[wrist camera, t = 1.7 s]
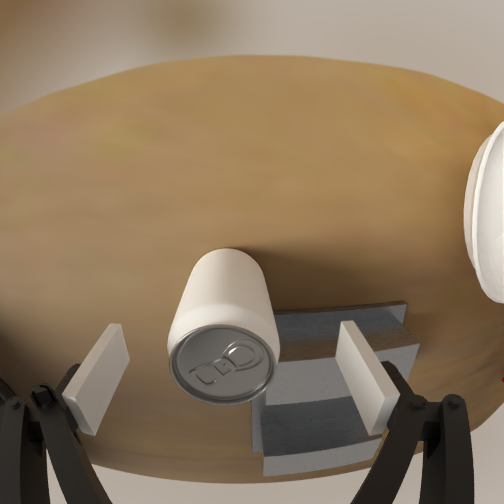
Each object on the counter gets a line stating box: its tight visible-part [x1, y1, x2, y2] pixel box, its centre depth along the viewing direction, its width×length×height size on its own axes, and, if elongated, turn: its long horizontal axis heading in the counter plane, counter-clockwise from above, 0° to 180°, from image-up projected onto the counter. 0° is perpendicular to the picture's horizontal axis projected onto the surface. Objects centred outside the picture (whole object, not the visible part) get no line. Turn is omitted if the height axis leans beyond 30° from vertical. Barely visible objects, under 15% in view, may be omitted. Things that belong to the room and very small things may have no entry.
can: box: [167, 248, 280, 406], centre depth 20 cm, size 6×6×12 cm
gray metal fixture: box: [252, 301, 420, 476], centre depth 27 cm, size 16×22×6 cm
